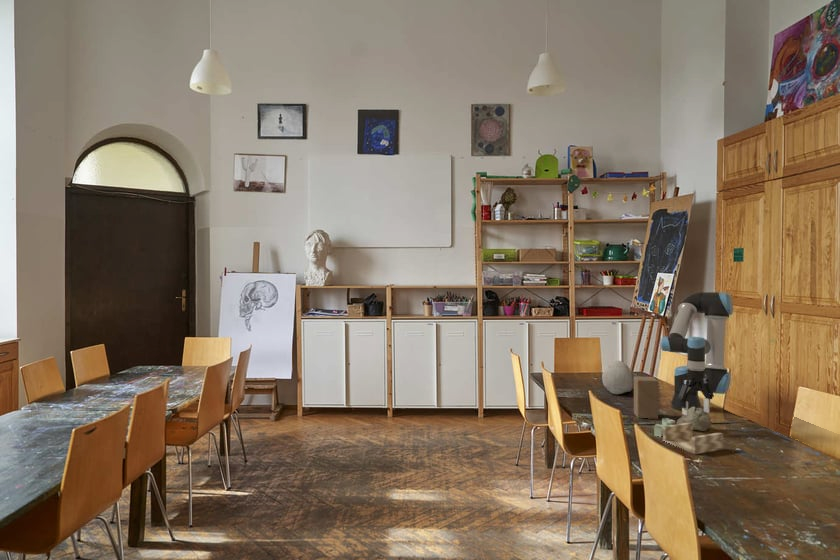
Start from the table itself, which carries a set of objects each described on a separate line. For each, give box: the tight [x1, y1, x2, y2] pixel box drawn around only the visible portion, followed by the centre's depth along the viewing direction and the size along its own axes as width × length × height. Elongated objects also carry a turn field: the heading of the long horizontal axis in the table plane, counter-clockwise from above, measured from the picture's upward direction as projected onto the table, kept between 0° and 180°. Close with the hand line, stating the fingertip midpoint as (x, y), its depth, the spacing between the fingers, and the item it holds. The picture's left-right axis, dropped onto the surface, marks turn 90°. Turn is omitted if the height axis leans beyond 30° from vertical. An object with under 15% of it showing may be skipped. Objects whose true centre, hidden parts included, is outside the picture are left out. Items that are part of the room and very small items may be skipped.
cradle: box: [662, 422, 724, 455], centre depth 225 cm, size 16×17×7 cm
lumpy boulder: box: [676, 407, 712, 432], centre depth 247 cm, size 11×11×15 cm
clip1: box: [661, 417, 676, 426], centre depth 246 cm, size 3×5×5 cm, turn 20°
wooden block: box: [633, 375, 659, 420], centre depth 269 cm, size 10×10×20 cm
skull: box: [601, 360, 633, 395], centre depth 321 cm, size 17×27×20 cm, turn 148°
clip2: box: [653, 423, 666, 438], centre depth 237 cm, size 3×5×5 cm, turn 49°
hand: (695, 413), depth 246 cm, fingers open, 13 cm apart
